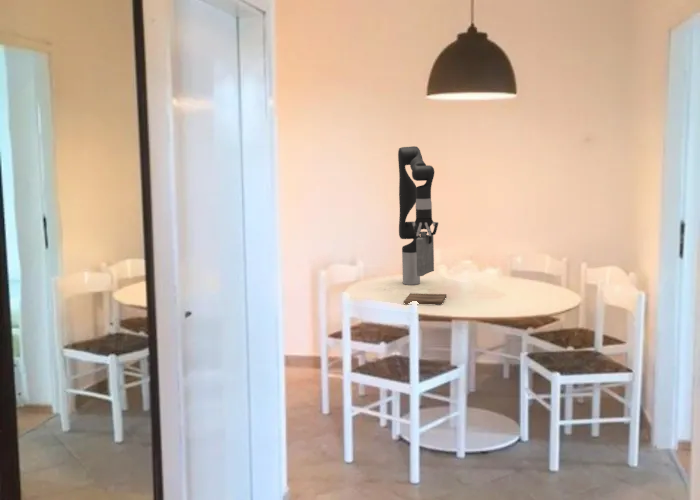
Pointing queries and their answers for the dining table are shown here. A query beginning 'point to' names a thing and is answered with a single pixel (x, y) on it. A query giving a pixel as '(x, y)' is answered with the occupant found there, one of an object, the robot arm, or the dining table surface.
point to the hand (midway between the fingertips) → (424, 243)
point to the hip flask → (424, 254)
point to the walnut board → (426, 298)
